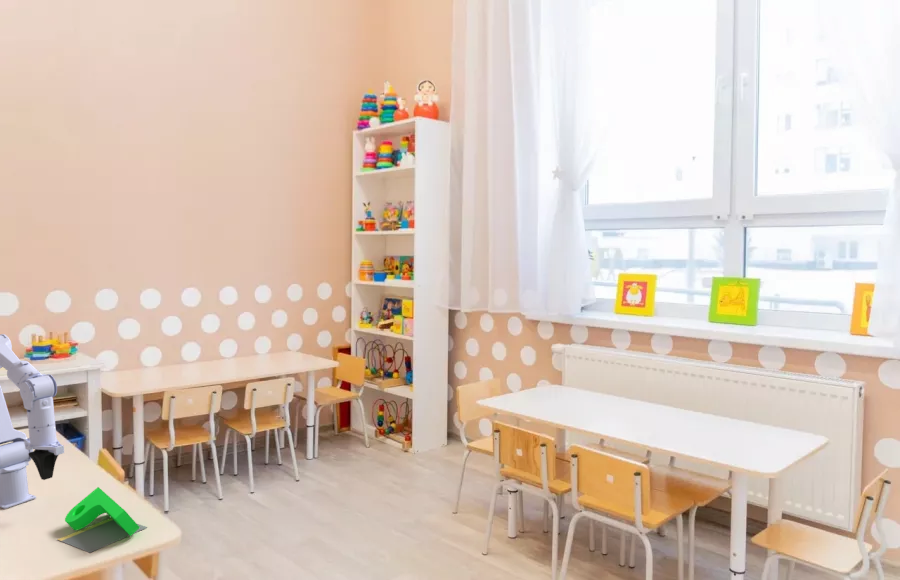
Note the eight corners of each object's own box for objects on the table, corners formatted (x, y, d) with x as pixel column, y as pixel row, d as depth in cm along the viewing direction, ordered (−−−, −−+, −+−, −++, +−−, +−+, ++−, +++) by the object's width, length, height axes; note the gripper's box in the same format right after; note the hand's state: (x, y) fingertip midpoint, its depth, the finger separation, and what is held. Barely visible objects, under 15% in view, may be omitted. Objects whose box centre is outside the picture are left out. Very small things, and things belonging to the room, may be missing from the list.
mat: (57, 539, 158) (57, 539, 158) (114, 516, 170) (114, 516, 170) (89, 552, 151) (89, 552, 151) (147, 527, 163) (147, 527, 163)
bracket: (81, 537, 167) (61, 517, 164) (116, 506, 172) (98, 486, 169) (105, 565, 152) (84, 543, 149) (143, 531, 158) (124, 509, 154)
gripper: (9, 425, 170) (14, 478, 172) (41, 433, 163) (46, 488, 164) (38, 418, 176) (43, 469, 178) (70, 425, 169) (75, 479, 170)
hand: (46, 478), depth 171 cm, fingers closed
